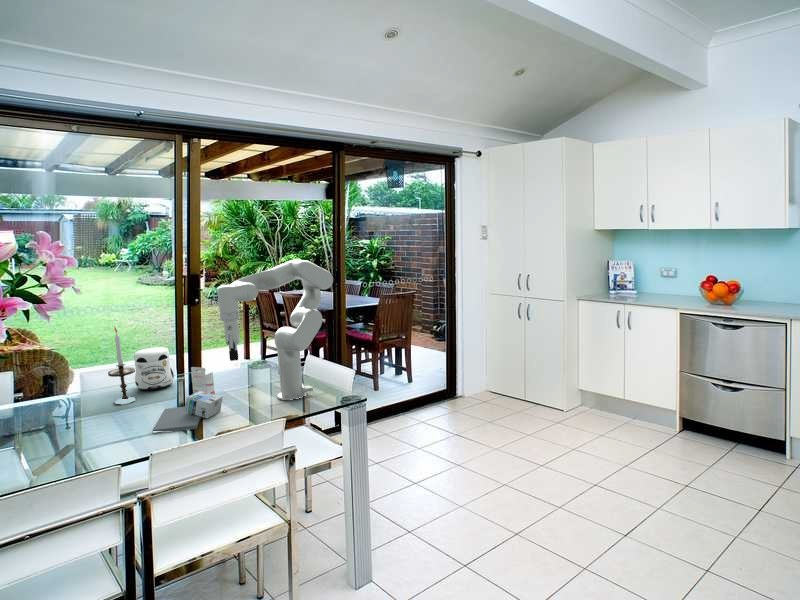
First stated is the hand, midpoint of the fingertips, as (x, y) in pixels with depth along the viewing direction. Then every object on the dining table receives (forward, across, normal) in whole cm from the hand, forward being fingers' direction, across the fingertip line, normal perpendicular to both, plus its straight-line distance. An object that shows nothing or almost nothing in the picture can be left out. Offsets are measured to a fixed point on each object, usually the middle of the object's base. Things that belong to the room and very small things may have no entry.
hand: (234, 359), depth 230 cm
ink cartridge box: (+23, +27, +17) cm, 39 cm away
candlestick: (+23, +33, +52) cm, 66 cm away
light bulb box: (+20, +1, +9) cm, 22 cm away
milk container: (+23, +52, +43) cm, 71 cm away
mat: (+23, 0, +23) cm, 33 cm away
